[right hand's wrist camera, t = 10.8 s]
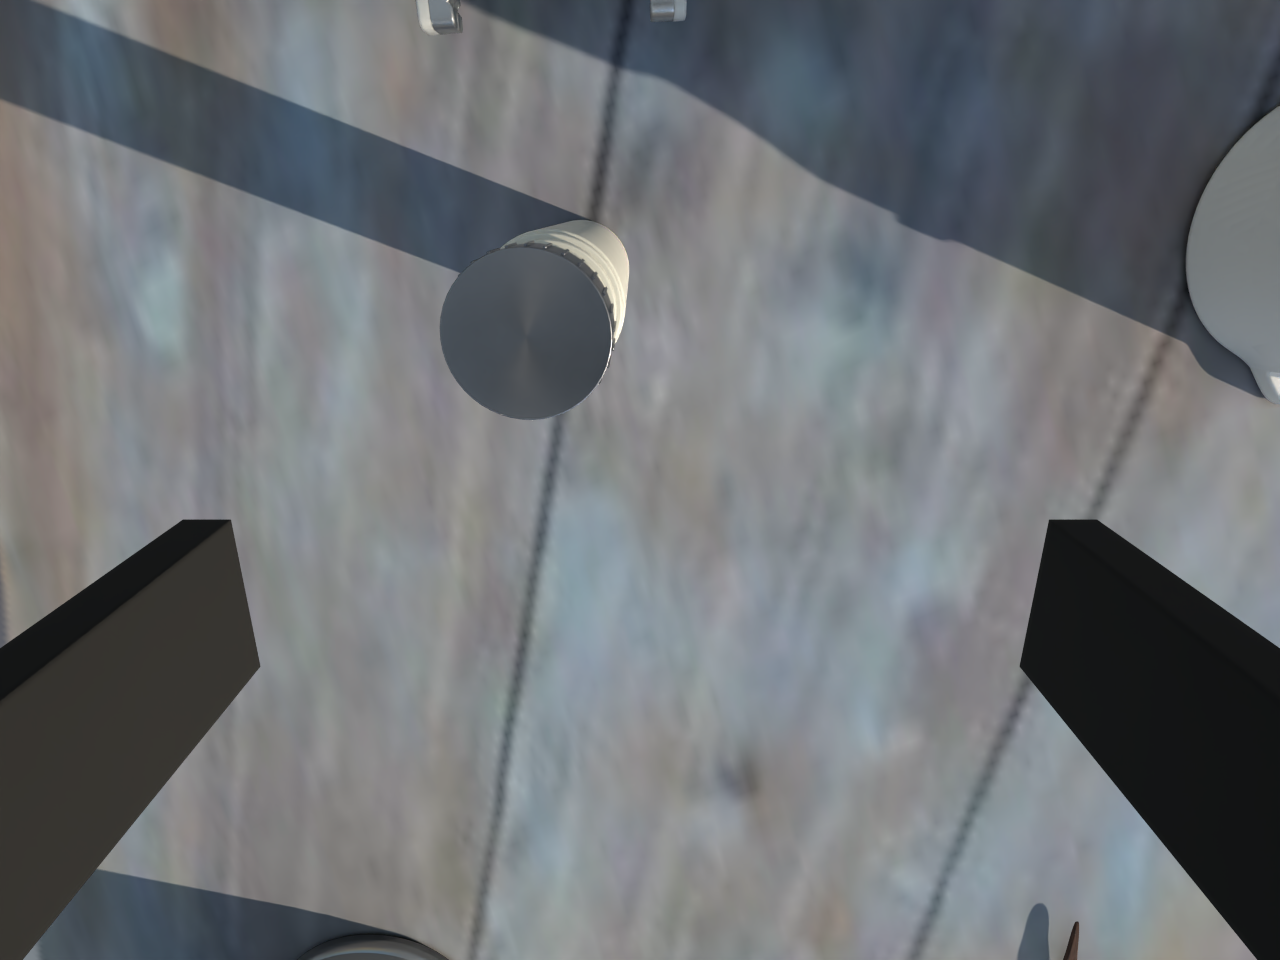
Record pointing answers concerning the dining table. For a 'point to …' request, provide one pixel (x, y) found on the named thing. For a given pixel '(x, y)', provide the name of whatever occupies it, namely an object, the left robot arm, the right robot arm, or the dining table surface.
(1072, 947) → the fork
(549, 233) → the bottle
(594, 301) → the cap
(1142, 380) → the dining table surface
